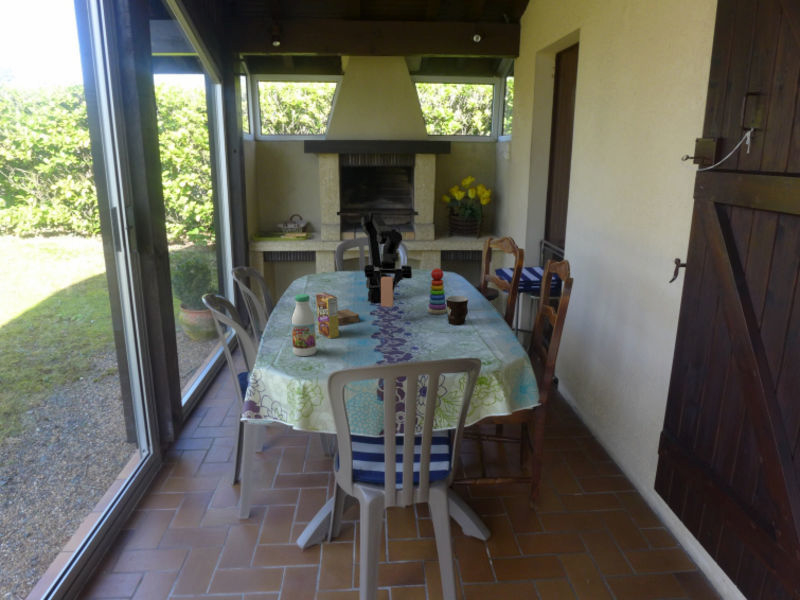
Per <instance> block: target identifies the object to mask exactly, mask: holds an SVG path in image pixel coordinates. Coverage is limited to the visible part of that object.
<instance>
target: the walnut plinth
mask: <svg viewBox="0 0 800 600" xmlns="http://www.w3.org/2000/svg"><path fill="white" fill-rule="evenodd" d="M354 322H356V323H360V315H359V313H356V312H354V311H352V310H350V309H348V308H346V309H341V310H339V309H338V327H339V325H340V326H344V325H345V326H346V325H350V323H351V324H355V323H354Z"/></svg>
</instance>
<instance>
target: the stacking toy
mask: <svg viewBox="0 0 800 600" xmlns="http://www.w3.org/2000/svg"><path fill="white" fill-rule="evenodd" d="M430 275H431V276H430V277H431V278H432V280H431V285H430V291H429V292H430V295H429V300H428V302H429V303H428V309H427V311H428V312H429V313H430V314H433V315H442V314H443V315H444V314H446V313H447V303H446V294H445V290H444V288H445V287H444V280H443V277H444V271H443V270H442V269H441V268H434V269H433V270H432V271H431V273H430Z"/></svg>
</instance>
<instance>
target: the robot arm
mask: <svg viewBox="0 0 800 600" xmlns="http://www.w3.org/2000/svg"><path fill="white" fill-rule="evenodd" d="M382 215H383V214H382V212H380V211H371V212H369V213H368V214H365V215H362V217H361V220H360V221H361V222H360V224H361V225H360V226H361V227H362V231H363V233H364V234H365V235H366V236H367V244H368V252H369V259H370V260H369V261H370V264H365V265H364V267H363V271H364V276H365V278H367V279H366V283H365V286H366V289H367V290H368V292H367V296H368V297H367V298H368V299H367V301H368V302H371V303H373V304H377V303H381V278H382V277H388V275H394V276H393V291H395V289H396V287H397V286H398V284H399V283H400V281H403V279H412V278H413V269H412V265H403V264H402V265H401V268H396V267H397V262H399V261H400V259H399V258H400V255H399V252H398V250H399V248H400V246H401V243H402V240H403V235H402V234H401V233H400V232H399V231H397V230H396V229H395V228H392V227H389V226H388V225H387V223H386V221H385V220H384V217H383V216H382ZM379 245H383V246H382V253H380V252H381V251H380V246H379Z"/></svg>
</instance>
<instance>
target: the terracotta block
mask: <svg viewBox="0 0 800 600" xmlns="http://www.w3.org/2000/svg"><path fill="white" fill-rule="evenodd" d="M393 281H394V276H387V277H382V278H381V302H380V306H381V307H388V308H391V307H392V308H393V306H394V304H395V303H394V290H393Z"/></svg>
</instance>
